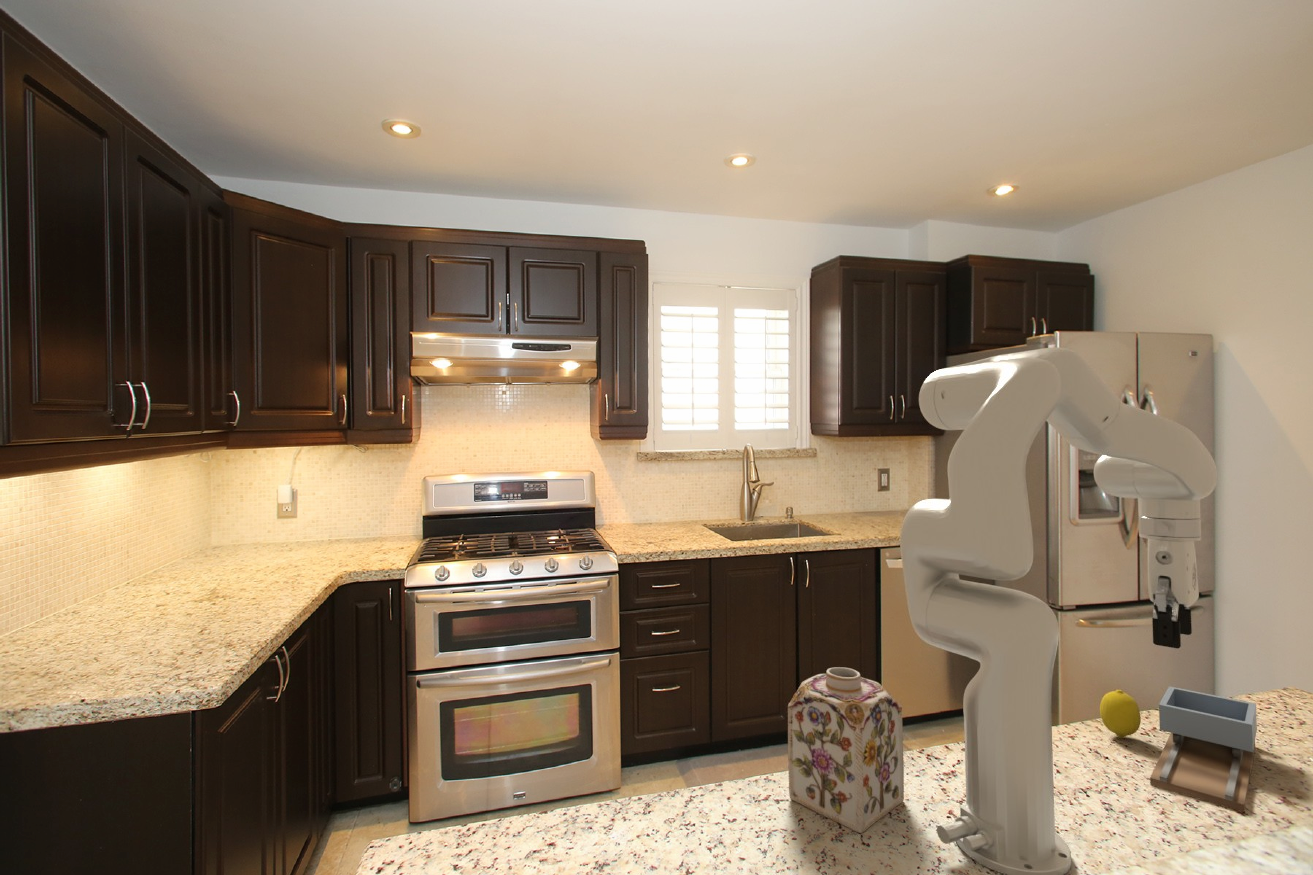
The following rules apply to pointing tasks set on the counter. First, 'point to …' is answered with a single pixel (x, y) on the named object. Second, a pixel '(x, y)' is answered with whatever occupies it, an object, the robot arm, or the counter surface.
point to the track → (1204, 771)
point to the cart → (1209, 719)
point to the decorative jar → (845, 748)
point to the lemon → (1120, 713)
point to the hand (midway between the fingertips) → (1172, 639)
